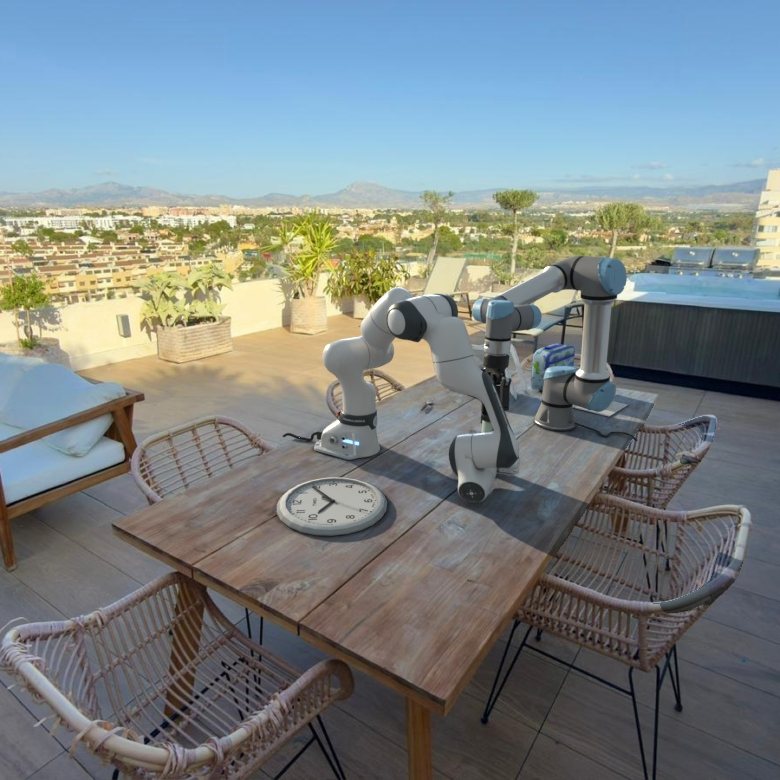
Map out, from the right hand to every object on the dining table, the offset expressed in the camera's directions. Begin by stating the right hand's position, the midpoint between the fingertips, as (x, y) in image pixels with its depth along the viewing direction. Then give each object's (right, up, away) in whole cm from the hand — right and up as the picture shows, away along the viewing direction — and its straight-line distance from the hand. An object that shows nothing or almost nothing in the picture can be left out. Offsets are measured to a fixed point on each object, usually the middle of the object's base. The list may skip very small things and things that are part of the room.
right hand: (490, 426), depth 161 cm
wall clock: (-47, -20, -18) cm, 54 cm away
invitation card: (+60, +4, +65) cm, 89 cm away
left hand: (0, -8, +3) cm, 8 cm away
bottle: (0, -14, +4) cm, 15 cm away
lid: (0, +4, -1) cm, 4 cm away
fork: (-16, +4, +62) cm, 64 cm away
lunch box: (+46, +12, +91) cm, 103 cm away
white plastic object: (+11, +10, +82) cm, 83 cm away
